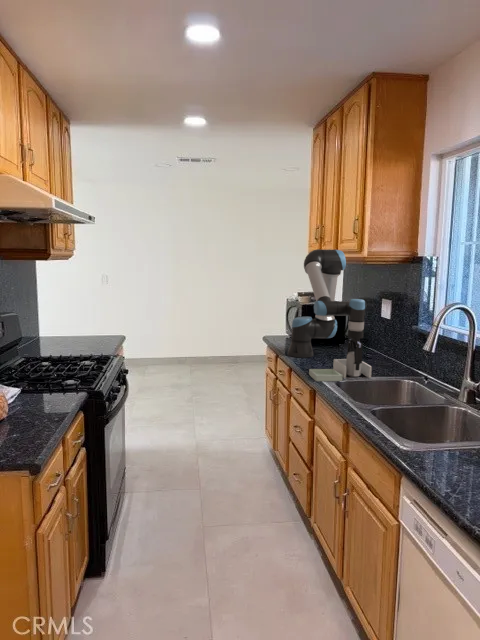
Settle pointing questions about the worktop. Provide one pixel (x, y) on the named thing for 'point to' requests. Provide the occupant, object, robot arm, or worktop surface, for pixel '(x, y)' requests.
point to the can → (351, 365)
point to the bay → (341, 367)
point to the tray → (325, 375)
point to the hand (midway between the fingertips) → (353, 374)
